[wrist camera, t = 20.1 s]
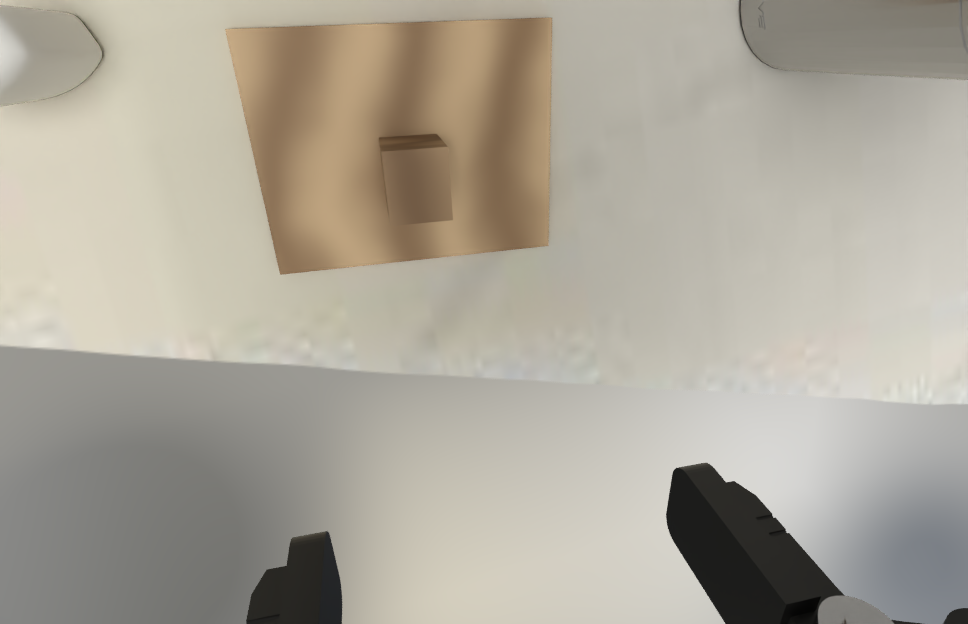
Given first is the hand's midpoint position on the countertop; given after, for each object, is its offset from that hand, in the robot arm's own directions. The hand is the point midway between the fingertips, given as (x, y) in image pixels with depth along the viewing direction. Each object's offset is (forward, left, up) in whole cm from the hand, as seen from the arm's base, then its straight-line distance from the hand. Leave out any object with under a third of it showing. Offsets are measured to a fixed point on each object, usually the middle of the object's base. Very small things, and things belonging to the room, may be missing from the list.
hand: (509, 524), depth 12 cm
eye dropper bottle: (+18, -10, -26) cm, 33 cm away
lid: (0, -4, -27) cm, 27 cm away
